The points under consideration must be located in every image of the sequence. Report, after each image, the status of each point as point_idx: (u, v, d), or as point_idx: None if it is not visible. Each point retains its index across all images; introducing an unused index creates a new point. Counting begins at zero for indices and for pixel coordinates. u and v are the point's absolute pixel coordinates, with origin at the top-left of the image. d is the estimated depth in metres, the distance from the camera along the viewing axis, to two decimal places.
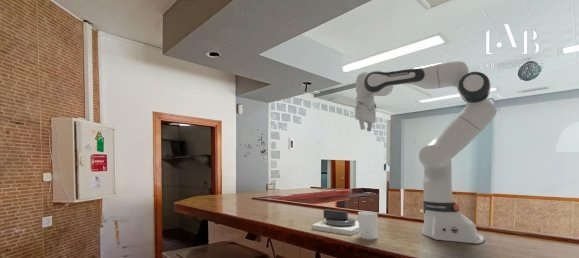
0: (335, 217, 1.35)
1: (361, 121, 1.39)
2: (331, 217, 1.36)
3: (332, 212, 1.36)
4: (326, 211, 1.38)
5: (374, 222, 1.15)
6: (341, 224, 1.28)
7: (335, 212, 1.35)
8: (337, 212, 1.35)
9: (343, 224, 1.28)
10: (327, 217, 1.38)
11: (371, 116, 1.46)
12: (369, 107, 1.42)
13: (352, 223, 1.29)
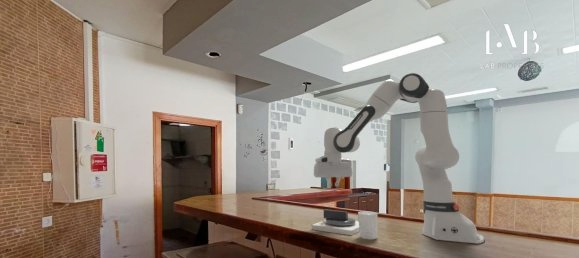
0: (335, 217, 1.35)
1: None
2: (331, 217, 1.36)
3: (332, 212, 1.36)
4: (326, 211, 1.38)
5: (374, 222, 1.15)
6: (341, 224, 1.28)
7: (335, 212, 1.35)
8: (337, 212, 1.35)
9: (343, 224, 1.28)
10: (327, 217, 1.38)
11: None
12: None
13: (352, 223, 1.29)
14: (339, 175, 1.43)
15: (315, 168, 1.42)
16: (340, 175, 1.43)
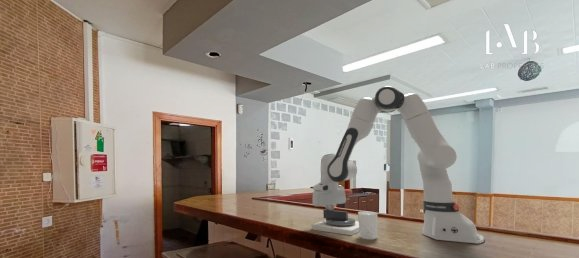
0: (335, 217, 1.35)
1: None
2: (331, 217, 1.36)
3: (332, 212, 1.36)
4: (326, 211, 1.38)
5: (374, 222, 1.15)
6: (341, 224, 1.28)
7: (335, 212, 1.35)
8: (337, 212, 1.35)
9: (343, 224, 1.28)
10: (327, 217, 1.38)
11: None
12: None
13: (352, 223, 1.30)
14: (336, 202, 1.42)
15: (316, 196, 1.36)
16: (337, 202, 1.42)
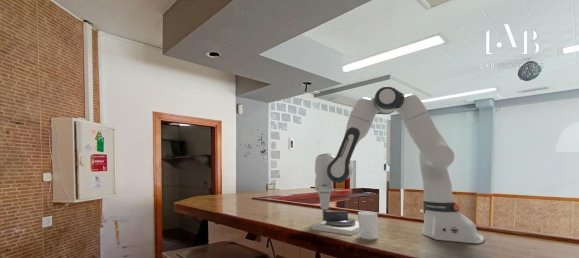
0: (336, 218, 1.33)
1: None
2: (332, 218, 1.33)
3: (333, 213, 1.33)
4: (326, 213, 1.33)
5: (374, 222, 1.15)
6: (351, 223, 1.29)
7: (336, 213, 1.34)
8: (338, 212, 1.34)
9: (353, 223, 1.30)
10: (327, 219, 1.33)
11: None
12: None
13: None
14: None
15: (326, 199, 1.28)
16: None
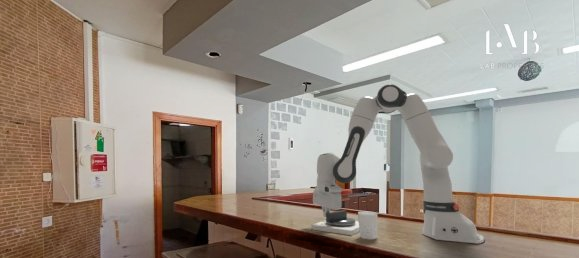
0: (338, 218, 1.33)
1: None
2: (335, 219, 1.31)
3: (336, 214, 1.32)
4: (331, 214, 1.30)
5: (374, 222, 1.15)
6: None
7: (338, 213, 1.33)
8: (340, 212, 1.34)
9: None
10: (332, 220, 1.30)
11: (326, 201, 1.29)
12: (319, 192, 1.34)
13: None
14: None
15: (339, 199, 1.25)
16: None
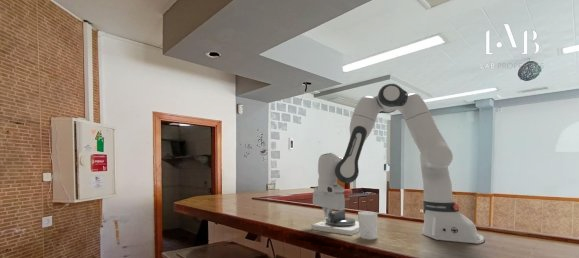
0: (340, 218, 1.33)
1: None
2: (338, 219, 1.31)
3: (338, 214, 1.32)
4: (335, 214, 1.29)
5: (374, 222, 1.15)
6: None
7: (340, 213, 1.33)
8: (341, 212, 1.34)
9: None
10: (336, 220, 1.29)
11: (329, 201, 1.28)
12: (321, 192, 1.32)
13: None
14: None
15: (342, 199, 1.24)
16: None
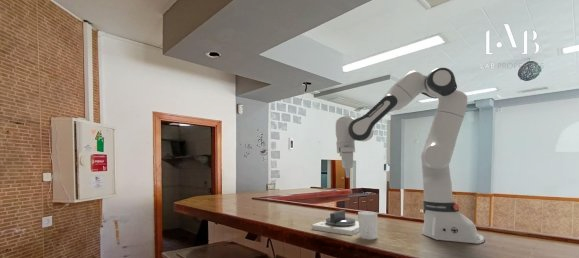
0: (340, 218, 1.33)
1: None
2: (338, 219, 1.31)
3: (338, 214, 1.32)
4: (335, 214, 1.29)
5: (374, 222, 1.15)
6: None
7: (340, 213, 1.33)
8: (341, 212, 1.34)
9: None
10: (336, 220, 1.29)
11: (343, 161, 1.34)
12: None
13: None
14: None
15: (349, 158, 1.28)
16: None
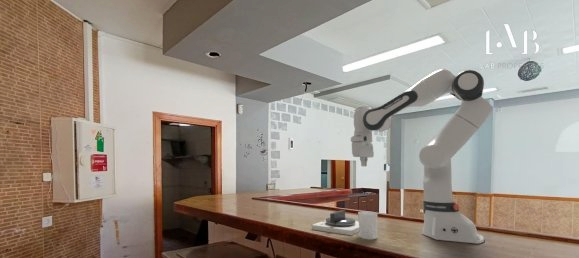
0: (340, 218, 1.33)
1: None
2: (338, 219, 1.31)
3: (338, 214, 1.32)
4: (335, 214, 1.29)
5: (374, 222, 1.15)
6: None
7: (340, 213, 1.33)
8: (341, 212, 1.34)
9: None
10: (336, 220, 1.29)
11: None
12: None
13: None
14: (369, 155, 1.42)
15: (357, 147, 1.33)
16: (369, 155, 1.43)
